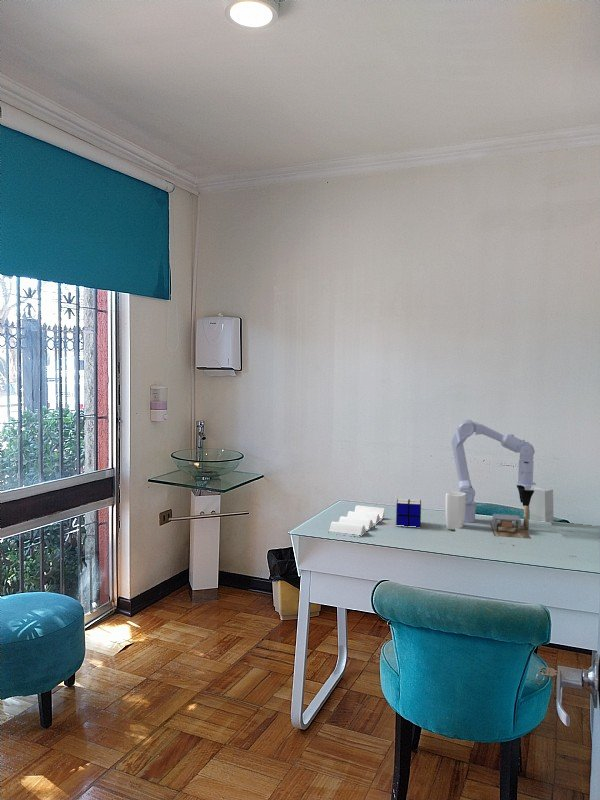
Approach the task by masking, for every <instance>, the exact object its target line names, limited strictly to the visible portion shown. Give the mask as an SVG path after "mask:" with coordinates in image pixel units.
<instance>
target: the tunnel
mask: <svg viewBox="0 0 600 800" xmlns="http://www.w3.org/2000/svg"><path fill="white" fill-rule="evenodd" d="M501 520H505V521H512V522H515V525H517V527H518V528H521V526H522V524H521V523H522V519H521V518H520V516H519V515H518V514H517V515H516V514H515V515H514V514H504V513H503V514H501V513H500V514H499V513H492V521H491V524H492V527H493V530H494V532H497V523H498V521H501Z"/></svg>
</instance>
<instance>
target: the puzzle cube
mask: <svg viewBox="0 0 600 800" xmlns="http://www.w3.org/2000/svg"><path fill="white" fill-rule="evenodd" d="M395 511H396V512H395V513H396V516H395V517H396V518H395V526H396V525H404V526H416V527H420V528H421V523H422V522H421V521H422V520H421V519H422V518H421V517H422V513H421V512H422V500H421V499H413V498H410V499H409V498H397V499H396V510H395Z"/></svg>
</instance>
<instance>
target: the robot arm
mask: <svg viewBox="0 0 600 800" xmlns="http://www.w3.org/2000/svg"><path fill="white" fill-rule="evenodd" d="M474 434H475V435H474ZM472 435H474V436H476V435H477V436H478V435H484V436H485V437H488V438H491V439H493V440H495V441H498V442H500V444H501V447H503V448H505V449H507V450H510V451H512V452H513V453H516V454H518V453H519V460H518V472H517V473H518V476H517V477H518V478H517V479H518V480H517V484H516V488H517V490H518V495H519V501H520V503H521V504H522V507H524V506H529V507H530V500H531V497H532V495H533V493H534V490H530V489H531V488H532V486H537V484H536V483H537V482H534V458H535V457H534V454H535V448H534V446H533V444H531V443H530V442H529V441H526V440H525V439H520V438H518V437H515V434H513V433H511V434H510V433H506V434H503V433H501V432H498V431H496V430H494V429H492V428H491V427H488V426H486V425H484V424H482V423H479V422H476V421H472V420H471V419H467V420H463V421H462V422H461V423H460V424H459V426H458V427H456V430H455V432H454V434H453V436H452V438H451V447H452V453H453V456H454V464H455V468H456V473H457V474H456V475H457V478H458V480H457V481H458V486H459V492H460V493H465V494H466V506H465V517H464V523H467V524H468V523H469V524H470V523H475V522H476V503H477V502H476V501H474V499H475V496H476V490H475V488H474V487H473V486H472V481H471V479H470V473H469V467H468V463H467V458H466V452H465V447H464V443H465V442H466V440H467V439H468V438H470V437H471V436H472Z"/></svg>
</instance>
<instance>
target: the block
mask: <svg viewBox="0 0 600 800" xmlns="http://www.w3.org/2000/svg"><path fill="white" fill-rule="evenodd" d="M500 523H501V526H500V527H512V524H513V521H505V520H500Z"/></svg>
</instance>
